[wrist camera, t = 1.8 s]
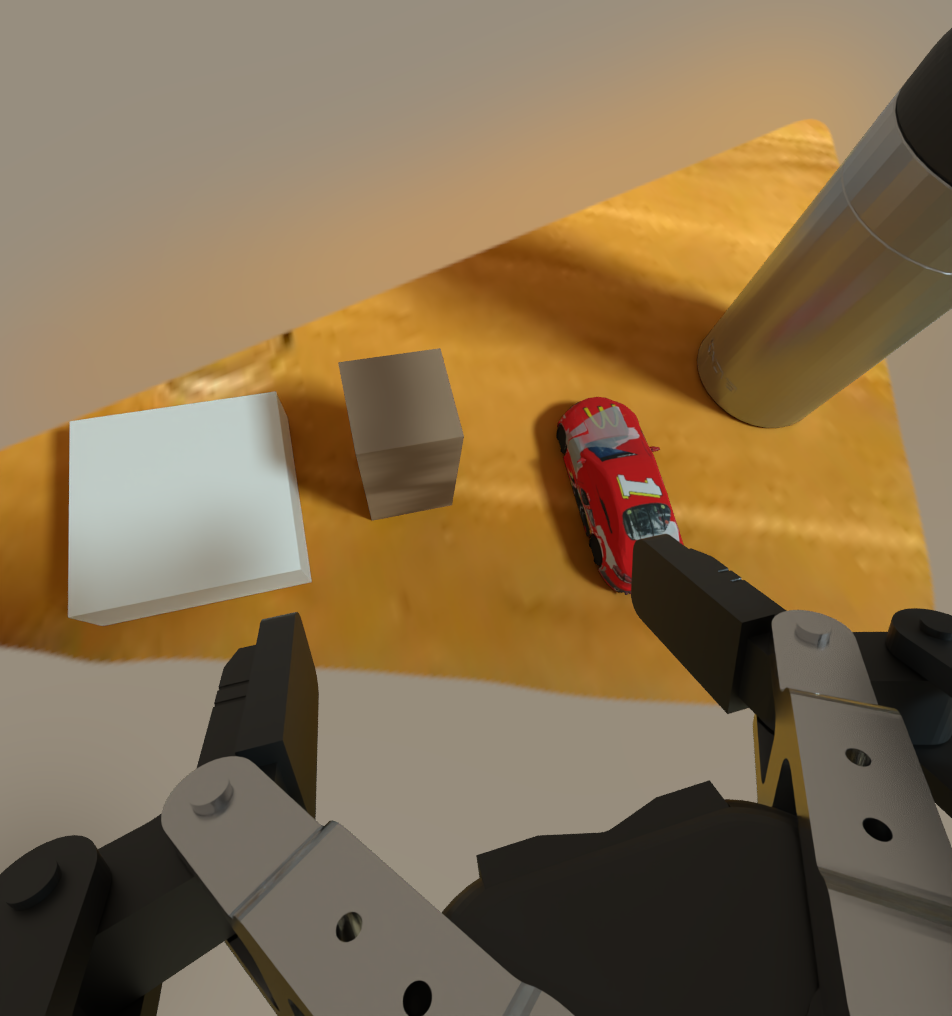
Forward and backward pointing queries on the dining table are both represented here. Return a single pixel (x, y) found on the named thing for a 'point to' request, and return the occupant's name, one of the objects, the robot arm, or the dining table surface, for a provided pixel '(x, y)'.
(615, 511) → the race car
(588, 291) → the dining table surface
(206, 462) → the riser
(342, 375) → the walnut block
